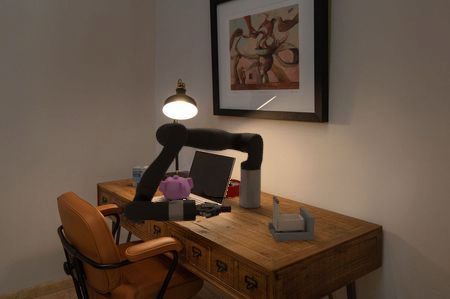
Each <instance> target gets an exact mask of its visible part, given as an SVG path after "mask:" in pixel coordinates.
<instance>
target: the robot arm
mask: <svg viewBox="0 0 450 299" xmlns="http://www.w3.org/2000/svg"><path fill="white" fill-rule="evenodd" d="M155 139H156V141H157V142H158V144H159V145H160V146H162V149H161V151H160V152H159V154H158V155H157V157H155V159H154V160H153V161H152V162H151V163H150V164H149V165H148V166H149V167H148V168H147V169H146V171H145V172H144V174H143V175H142V177H141V179H140V181H139V183H138V185H137V187H135V193H134V196H133V199H132V201H129V202H127V203H126V204H125V206H124V207H123V215H124V217H125V219H126V220H127V221H129V222H130V223H132V224H141V223H142V222H144V221H154V222H160V223H161V222H174V223H175V222H176V223H177V222H178V223H179V222H180V223H182V222H195V221H197V217H202V218H205V219H206V220H208V219H211V218H215V217H217V216H220V214H226V213H227V214H228V213H229V214H230V213H232V206H231V205H220V204H218V203H214V202H209V201H204V202H202V203H199V204H196V199H187V200H182V199H176V200H174V201H172V200H167V201H165V200H164V201H163V200H162V201H153V198H154V197H155V195H156V194H157V191H158V190H159V185H160V183H161V181H163V179H164V177H165V175H166V173H167V171H168V170H169V169H170V167H171V166H172V164H173V163H174V161H175V159H176V157H177V156H178V155H179V153H180V152H181V151H182V149H183V148H184V147H188V148H192V149H198V150H204V151H212V152H222V151H223V152H224V151H226V150H228V151H229V150H232V151H237V152H239V153H243V154H247V157H246V160H243V161H241V162H240V167H239V168H240V179H239V181H240V185H239V196H238V198H239V199H238V203H239V205H240V207H241V208H244V209H258V208H260V207H261V203H262V202H261V198H262V197H261V196H262V195H261V194H262V189H261V188H262V164H263V161H264V160H263V159H264V145H265V144H264V139H263V136H262V135H261V134H260V133H255V132H254V133H253V132H229V131H226V130H224V129H220V128H214V127H213V128H212V127H192V128H191V127H190V128H189V127H188V128H187V126H185V125H184V124H183V123H181V122H180V123H179V122H171V123H169V122H168V123H164V124H162V125H160V126H159V127H158V128H157V130H156V131H155Z"/></svg>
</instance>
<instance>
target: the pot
mask: <svg viewBox="0 0 450 299" xmlns="http://www.w3.org/2000/svg"><path fill="white" fill-rule="evenodd" d="M193 182H194V181H193V178H192V177H187V178H184V177H181V176H179V175H173V177H172V176H167V178H166V179H165V180H162V181H161V183H160V185H159V187H158V189H157V191H158V192H161V193H162V195H163V197H164V198H165V199H166V200H168V199H169V200H171V201H174V200H182V199H185V198H186V199H187V198H189V197H190V195H191V189H193V188H194V183H193Z"/></svg>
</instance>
